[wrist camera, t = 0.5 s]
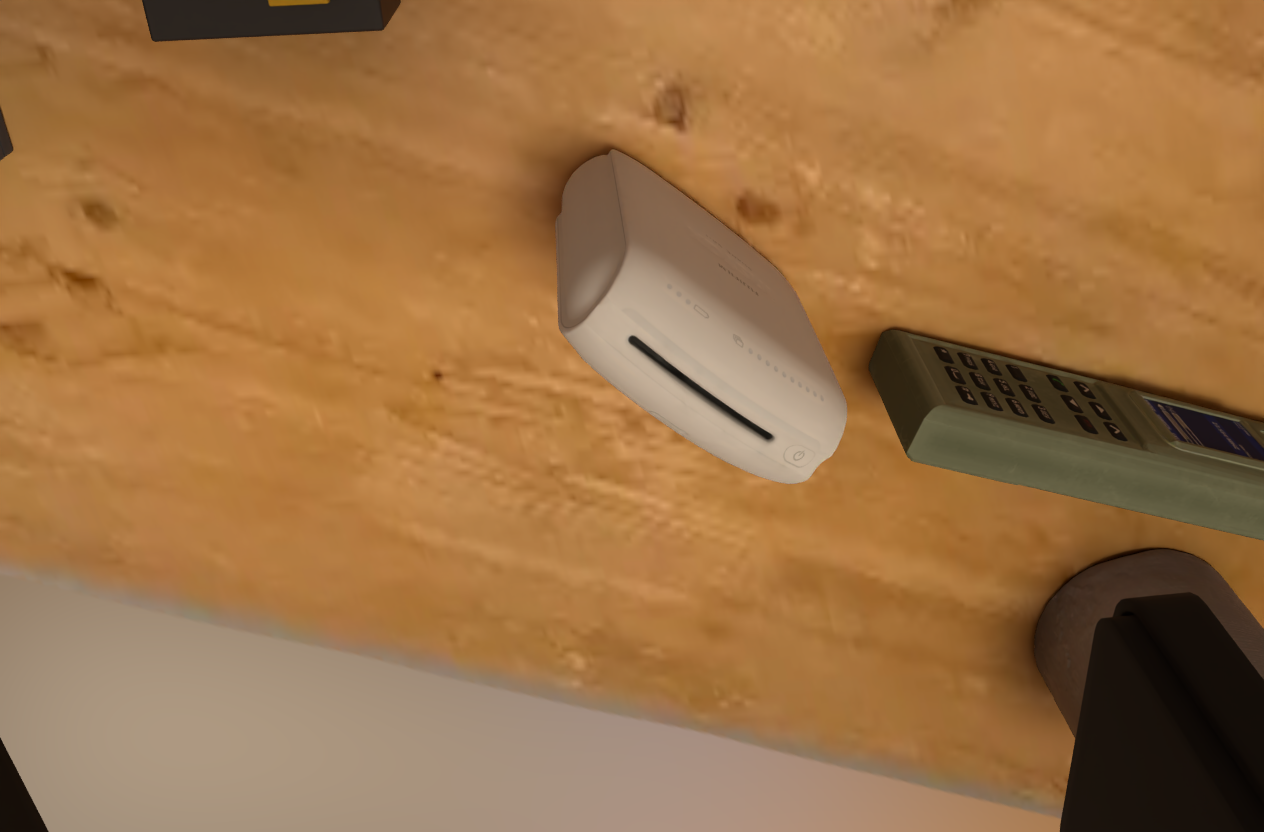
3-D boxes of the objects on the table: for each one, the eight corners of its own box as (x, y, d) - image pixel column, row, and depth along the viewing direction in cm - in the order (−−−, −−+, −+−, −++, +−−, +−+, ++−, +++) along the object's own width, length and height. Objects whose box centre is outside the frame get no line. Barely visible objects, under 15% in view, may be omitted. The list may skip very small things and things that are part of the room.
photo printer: (809, 283, 45) (887, 445, 34) (737, 358, 47) (791, 536, 36) (608, 125, 41) (626, 252, 31) (538, 212, 43) (532, 363, 32)
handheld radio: (890, 313, 46) (1398, 443, 51) (859, 380, 48) (1353, 499, 52) (934, 399, 40) (1501, 536, 45) (897, 472, 42) (1447, 596, 47)
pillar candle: (1138, 718, 59) (1302, 989, 46) (990, 659, 56) (1120, 930, 43) (1270, 586, 55) (1491, 844, 42) (1117, 515, 52) (1302, 767, 39)
